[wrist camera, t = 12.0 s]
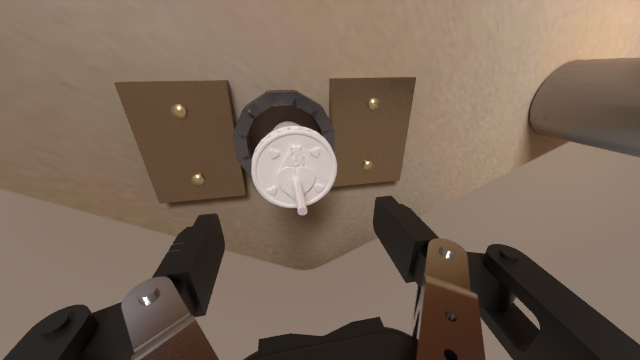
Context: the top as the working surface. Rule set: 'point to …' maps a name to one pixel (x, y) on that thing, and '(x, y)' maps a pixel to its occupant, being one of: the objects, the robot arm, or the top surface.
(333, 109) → the hinge base
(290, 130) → the smoothie
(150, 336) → the robot arm
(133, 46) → the top surface
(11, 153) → the top surface
